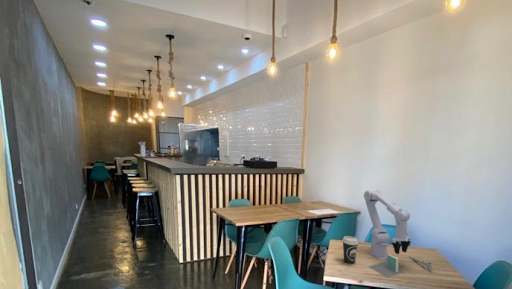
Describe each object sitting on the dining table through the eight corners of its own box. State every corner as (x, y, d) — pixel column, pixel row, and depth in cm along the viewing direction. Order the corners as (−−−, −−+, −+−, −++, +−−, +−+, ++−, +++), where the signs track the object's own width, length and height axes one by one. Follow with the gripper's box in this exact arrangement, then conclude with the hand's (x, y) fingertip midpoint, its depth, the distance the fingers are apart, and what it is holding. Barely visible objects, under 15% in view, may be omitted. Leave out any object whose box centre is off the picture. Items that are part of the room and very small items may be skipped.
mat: (368, 267, 147) (368, 266, 147) (385, 262, 154) (385, 261, 154) (387, 278, 136) (387, 277, 136) (405, 272, 142) (405, 272, 142)
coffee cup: (357, 260, 155) (358, 237, 155) (357, 267, 147) (358, 242, 147) (342, 257, 159) (342, 234, 159) (340, 263, 151) (341, 239, 151)
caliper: (432, 273, 143) (432, 263, 142) (430, 273, 143) (430, 263, 142) (409, 257, 163) (410, 248, 163) (408, 257, 163) (408, 248, 163)
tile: (386, 267, 147) (387, 254, 147) (388, 266, 148) (389, 253, 148) (395, 272, 142) (396, 258, 141) (398, 271, 142) (398, 258, 142)
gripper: (399, 234, 141) (398, 257, 141) (415, 231, 147) (414, 253, 147) (388, 230, 147) (387, 252, 147) (404, 227, 153) (403, 248, 153)
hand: (400, 252), depth 148 cm, fingers open, 6 cm apart
